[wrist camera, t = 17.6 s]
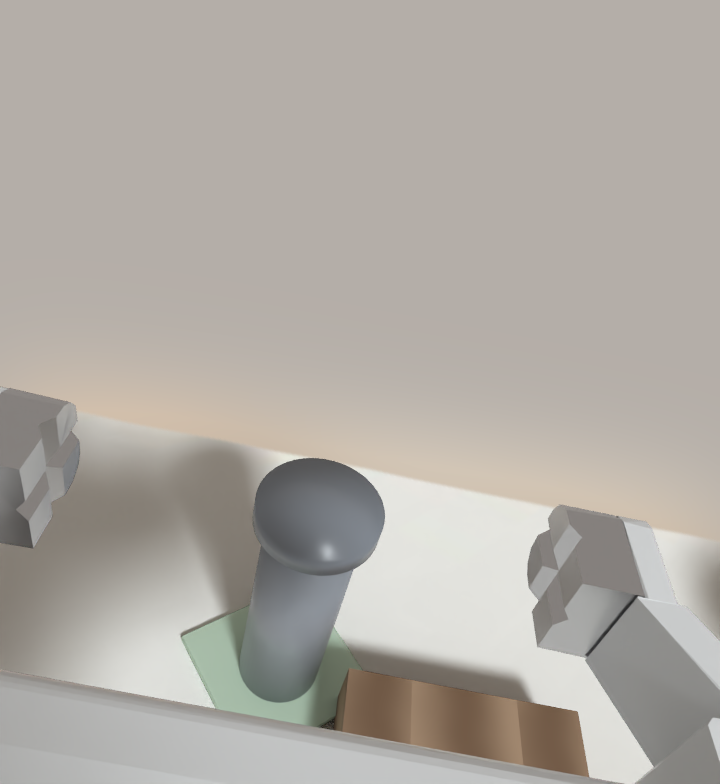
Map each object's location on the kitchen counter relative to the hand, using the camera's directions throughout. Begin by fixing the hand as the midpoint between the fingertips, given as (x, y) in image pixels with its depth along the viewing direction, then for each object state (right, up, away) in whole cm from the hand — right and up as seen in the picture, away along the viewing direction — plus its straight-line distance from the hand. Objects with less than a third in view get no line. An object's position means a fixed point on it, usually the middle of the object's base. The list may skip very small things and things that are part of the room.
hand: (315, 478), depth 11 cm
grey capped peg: (-4, -16, +30) cm, 34 cm away
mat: (-4, -16, +30) cm, 35 cm away
